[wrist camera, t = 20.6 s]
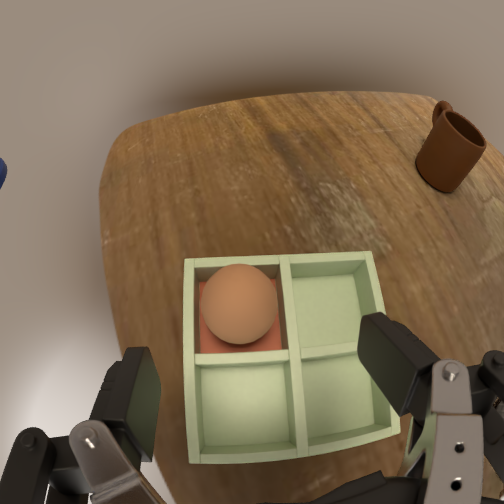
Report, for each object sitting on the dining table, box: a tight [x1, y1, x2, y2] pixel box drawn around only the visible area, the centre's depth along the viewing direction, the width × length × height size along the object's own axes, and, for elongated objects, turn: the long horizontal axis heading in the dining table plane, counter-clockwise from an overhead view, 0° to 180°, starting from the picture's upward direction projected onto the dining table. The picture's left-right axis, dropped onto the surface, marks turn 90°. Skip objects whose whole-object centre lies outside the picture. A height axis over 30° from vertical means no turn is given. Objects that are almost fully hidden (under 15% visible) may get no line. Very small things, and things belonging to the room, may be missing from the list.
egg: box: [201, 263, 278, 344], centre depth 19 cm, size 5×5×8 cm
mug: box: [416, 101, 486, 192], centre depth 30 cm, size 12×8×9 cm, turn 173°
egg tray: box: [183, 251, 400, 464], centre depth 20 cm, size 15×15×4 cm
